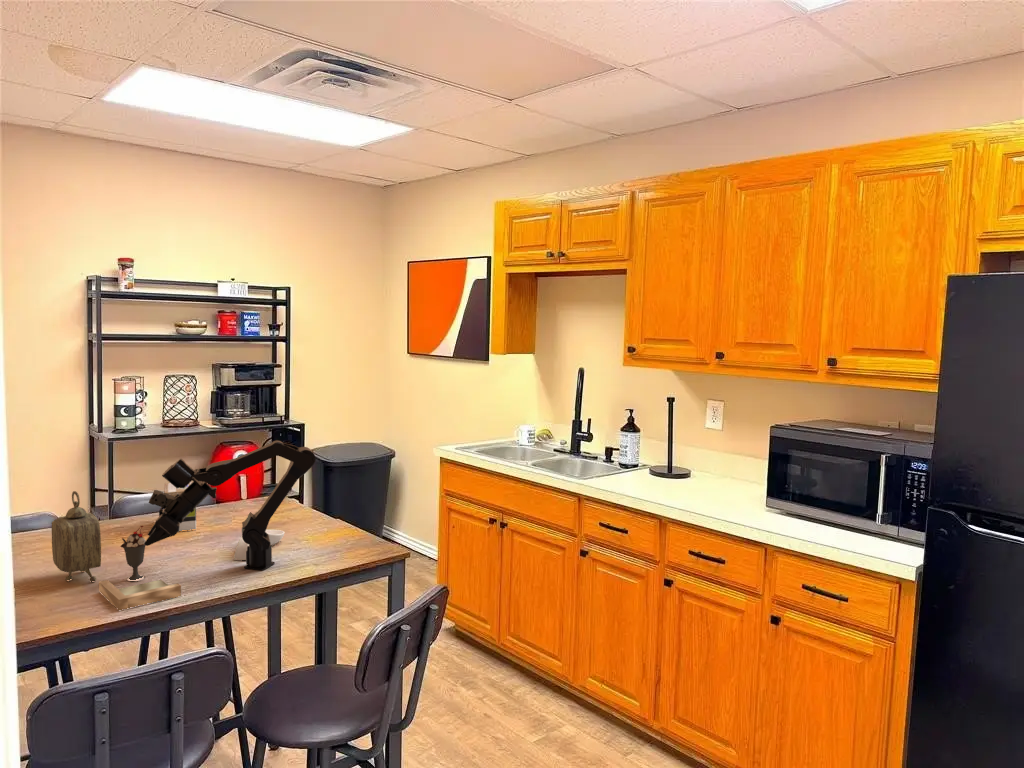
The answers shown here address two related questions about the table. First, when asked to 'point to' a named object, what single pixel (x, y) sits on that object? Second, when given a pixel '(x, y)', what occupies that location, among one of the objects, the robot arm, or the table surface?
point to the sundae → (134, 552)
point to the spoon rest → (242, 546)
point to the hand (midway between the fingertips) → (147, 540)
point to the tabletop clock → (76, 541)
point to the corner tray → (138, 593)
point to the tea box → (190, 519)
